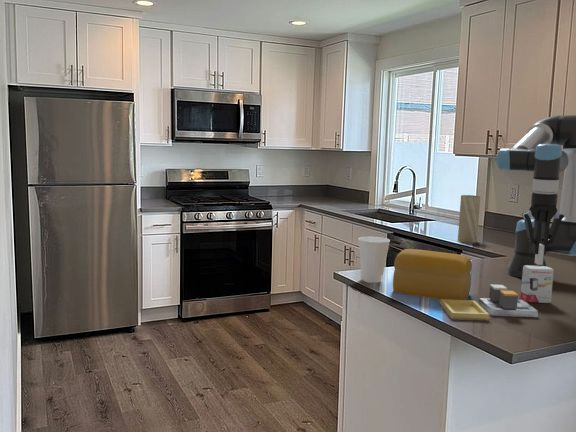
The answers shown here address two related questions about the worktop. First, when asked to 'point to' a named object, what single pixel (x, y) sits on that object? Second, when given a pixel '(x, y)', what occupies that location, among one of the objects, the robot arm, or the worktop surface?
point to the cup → (373, 257)
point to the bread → (432, 274)
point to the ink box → (537, 284)
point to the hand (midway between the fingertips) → (538, 263)
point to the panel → (497, 310)
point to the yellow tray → (464, 310)
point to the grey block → (508, 299)
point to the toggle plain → (496, 292)
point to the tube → (468, 218)
